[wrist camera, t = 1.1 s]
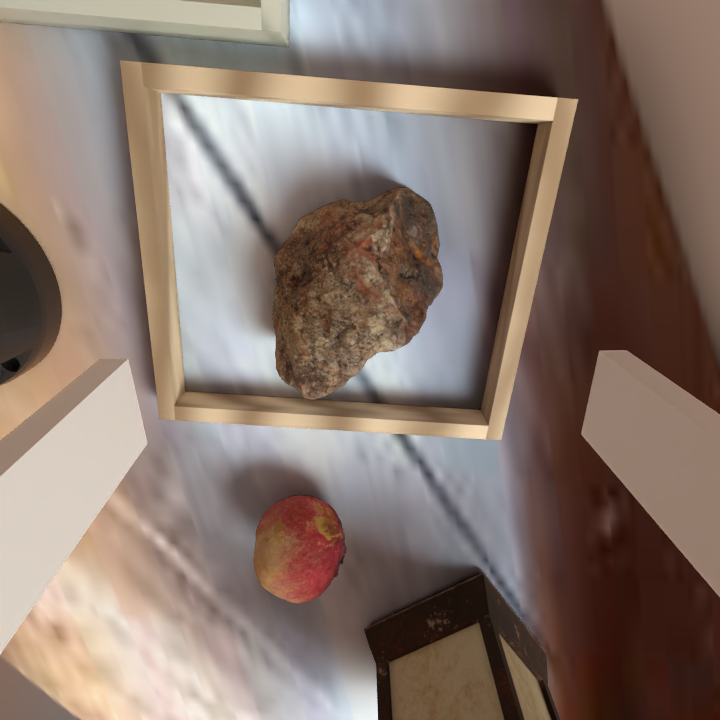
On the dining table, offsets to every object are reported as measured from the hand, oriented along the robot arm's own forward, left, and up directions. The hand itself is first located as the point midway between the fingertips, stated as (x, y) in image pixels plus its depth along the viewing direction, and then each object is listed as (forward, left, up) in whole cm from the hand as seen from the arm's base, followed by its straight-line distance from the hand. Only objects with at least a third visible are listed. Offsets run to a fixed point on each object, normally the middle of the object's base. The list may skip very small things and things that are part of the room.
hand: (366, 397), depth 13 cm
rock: (-1, -1, -22) cm, 22 cm away
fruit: (-3, -23, -22) cm, 32 cm away
